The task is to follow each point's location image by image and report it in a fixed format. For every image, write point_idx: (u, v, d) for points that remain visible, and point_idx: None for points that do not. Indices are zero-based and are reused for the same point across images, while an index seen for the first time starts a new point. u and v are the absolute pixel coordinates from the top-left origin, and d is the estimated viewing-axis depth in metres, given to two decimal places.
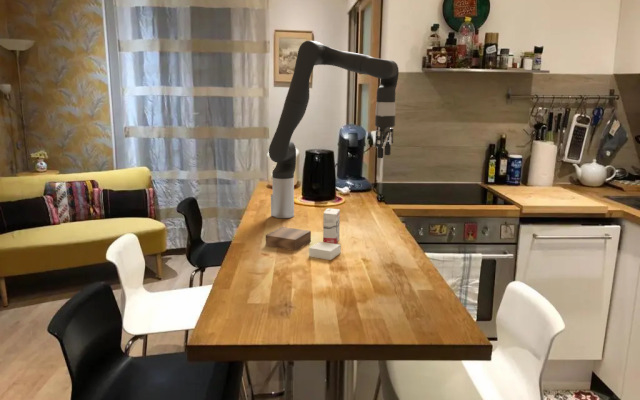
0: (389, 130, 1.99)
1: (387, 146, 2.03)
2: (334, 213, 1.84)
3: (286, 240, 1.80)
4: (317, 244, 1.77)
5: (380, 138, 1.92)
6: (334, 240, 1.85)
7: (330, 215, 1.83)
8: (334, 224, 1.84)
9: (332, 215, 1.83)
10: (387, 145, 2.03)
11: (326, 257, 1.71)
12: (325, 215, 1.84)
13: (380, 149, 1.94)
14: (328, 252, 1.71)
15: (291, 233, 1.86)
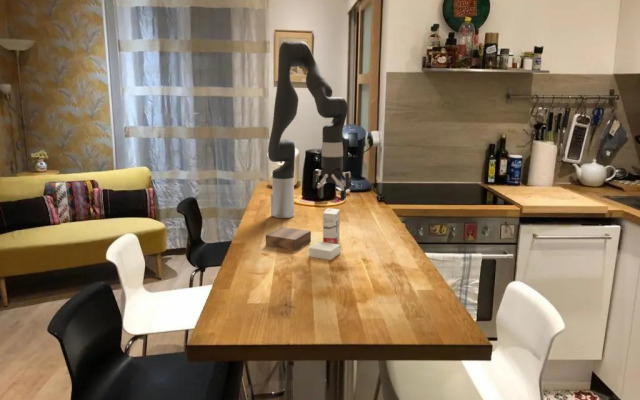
0: None
1: (321, 188, 1.87)
2: (334, 213, 1.84)
3: (286, 240, 1.80)
4: (317, 244, 1.77)
5: (350, 179, 1.82)
6: (334, 240, 1.85)
7: (330, 215, 1.83)
8: (334, 224, 1.84)
9: (332, 215, 1.83)
10: (321, 187, 1.87)
11: (326, 257, 1.71)
12: (325, 215, 1.84)
13: (345, 191, 1.83)
14: (328, 252, 1.71)
15: (291, 233, 1.86)
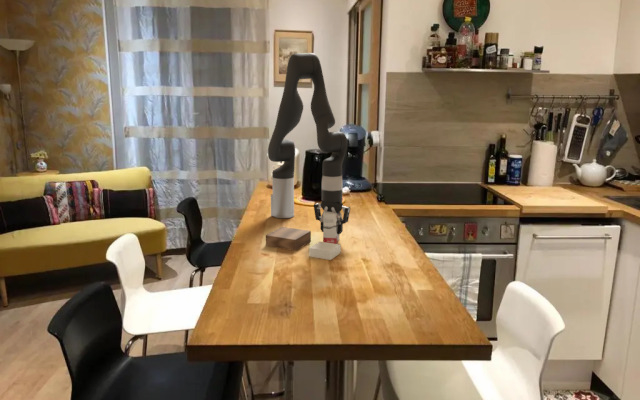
0: None
1: None
2: (334, 213, 1.84)
3: (286, 240, 1.80)
4: (317, 244, 1.77)
5: (348, 214, 1.85)
6: (334, 240, 1.85)
7: (330, 215, 1.83)
8: (334, 224, 1.84)
9: (332, 215, 1.83)
10: None
11: (326, 257, 1.71)
12: (325, 215, 1.84)
13: (342, 225, 1.87)
14: (328, 252, 1.71)
15: (291, 233, 1.86)
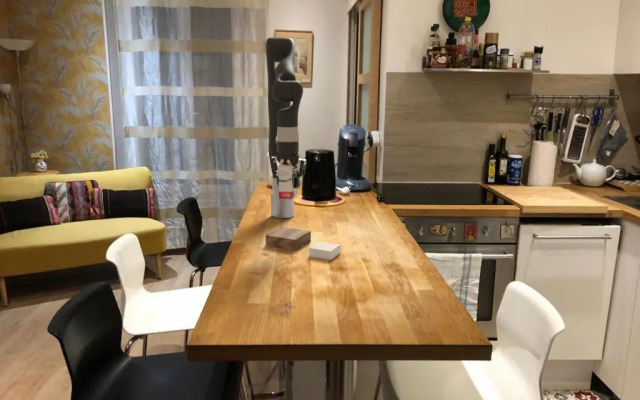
0: None
1: None
2: (290, 166, 1.78)
3: (286, 240, 1.80)
4: (317, 244, 1.77)
5: (305, 167, 1.79)
6: (290, 194, 1.79)
7: (285, 167, 1.77)
8: (289, 177, 1.78)
9: (287, 167, 1.77)
10: None
11: (326, 257, 1.71)
12: (280, 167, 1.77)
13: (298, 178, 1.81)
14: (328, 252, 1.71)
15: (291, 233, 1.86)
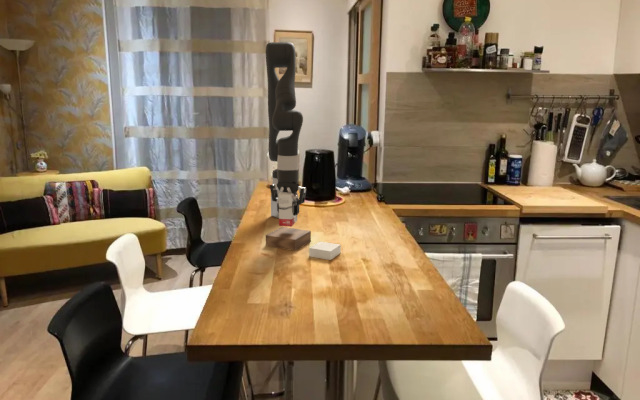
0: None
1: None
2: (290, 193, 1.80)
3: (286, 240, 1.80)
4: (317, 244, 1.77)
5: (305, 195, 1.81)
6: (290, 221, 1.81)
7: (285, 195, 1.79)
8: (289, 205, 1.80)
9: (287, 195, 1.79)
10: None
11: (326, 257, 1.71)
12: (280, 195, 1.80)
13: (298, 206, 1.83)
14: (328, 252, 1.71)
15: (291, 233, 1.86)
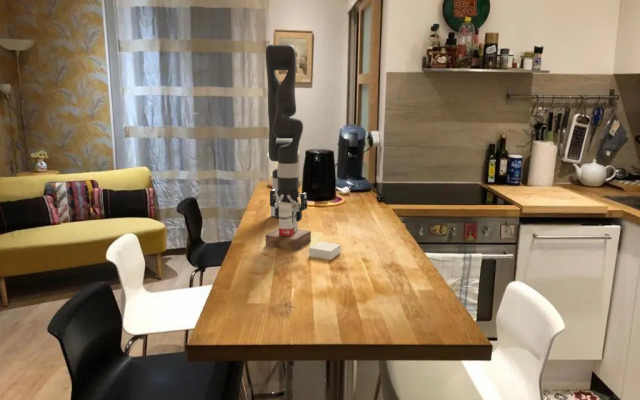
0: None
1: (278, 209, 1.86)
2: (290, 203, 1.81)
3: (286, 240, 1.80)
4: (317, 244, 1.77)
5: (306, 200, 1.81)
6: (290, 231, 1.82)
7: (285, 205, 1.80)
8: (289, 214, 1.81)
9: (287, 205, 1.80)
10: (278, 208, 1.86)
11: (326, 257, 1.71)
12: (280, 205, 1.81)
13: (301, 212, 1.83)
14: (328, 252, 1.71)
15: None
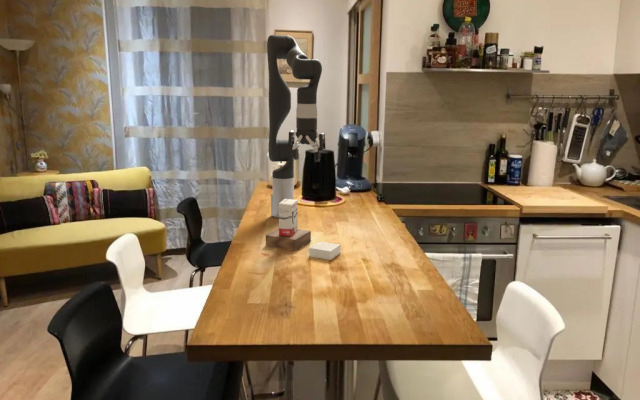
0: None
1: (296, 150, 1.91)
2: (290, 203, 1.81)
3: (286, 240, 1.80)
4: (317, 244, 1.77)
5: (324, 140, 1.86)
6: (290, 231, 1.82)
7: (285, 205, 1.80)
8: (289, 214, 1.81)
9: (287, 205, 1.80)
10: (296, 149, 1.91)
11: (326, 257, 1.71)
12: (280, 205, 1.81)
13: (319, 152, 1.87)
14: (328, 252, 1.71)
15: None
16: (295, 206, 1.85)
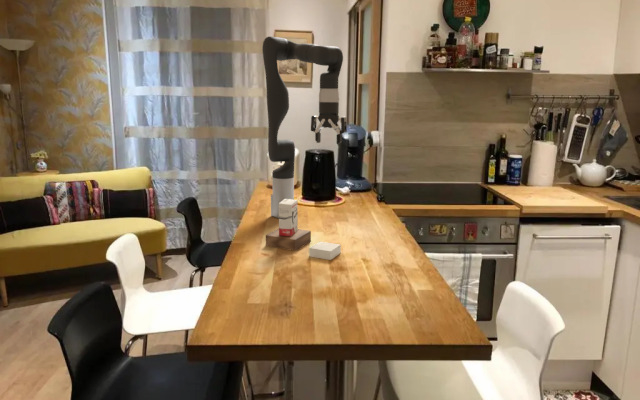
0: None
1: (319, 133, 2.01)
2: (290, 203, 1.81)
3: (286, 240, 1.80)
4: (317, 244, 1.77)
5: (346, 123, 1.96)
6: (290, 231, 1.82)
7: (285, 205, 1.80)
8: (289, 214, 1.81)
9: (287, 205, 1.80)
10: (318, 132, 2.01)
11: (326, 257, 1.71)
12: (280, 205, 1.81)
13: (341, 135, 1.97)
14: (328, 252, 1.71)
15: None
16: (295, 206, 1.85)
